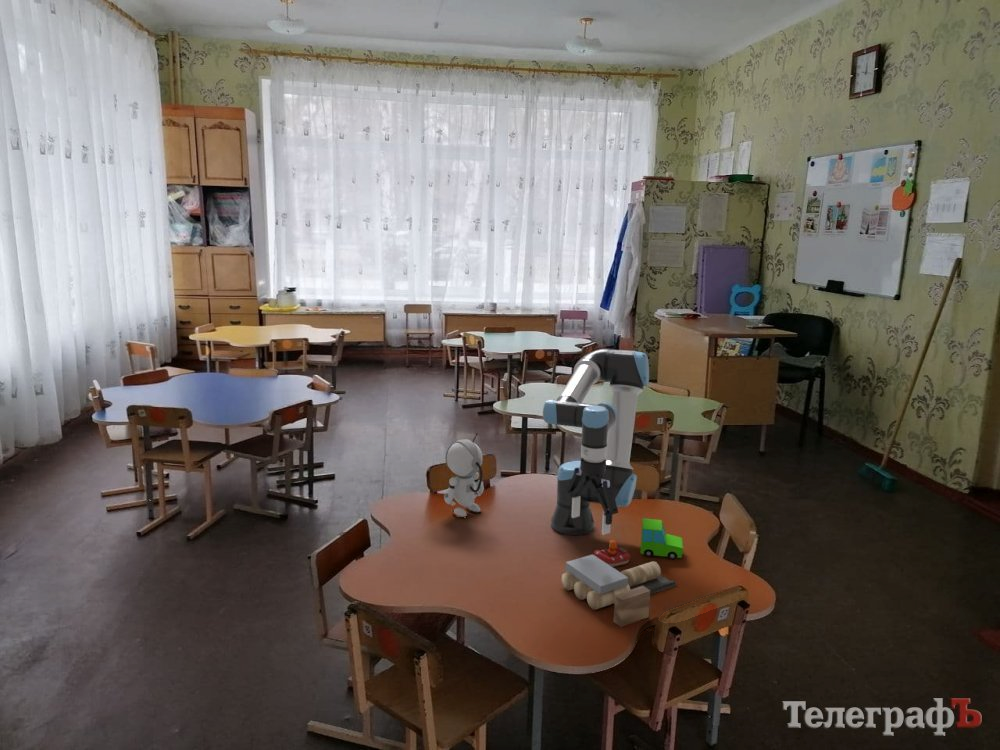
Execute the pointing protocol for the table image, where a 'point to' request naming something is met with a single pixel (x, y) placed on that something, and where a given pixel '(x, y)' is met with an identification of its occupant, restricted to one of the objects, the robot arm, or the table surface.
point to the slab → (596, 574)
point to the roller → (642, 573)
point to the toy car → (659, 541)
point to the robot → (464, 475)
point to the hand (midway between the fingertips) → (590, 524)
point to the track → (620, 597)
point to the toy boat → (613, 555)
